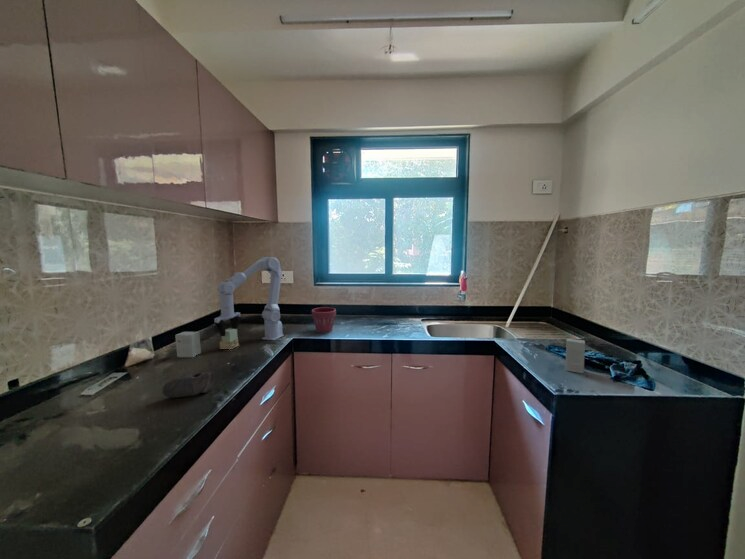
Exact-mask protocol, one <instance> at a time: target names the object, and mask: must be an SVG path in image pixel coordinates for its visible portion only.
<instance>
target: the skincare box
mask: <svg viewBox="0 0 745 559" xmlns="http://www.w3.org/2000/svg"><path fill="white" fill-rule="evenodd" d="M565 343H566V344H565V345H566V346H565V366H564V367H565V368H564V369H565V371H567V372H573V373H577V374H584V371H585V353H586V341H585V340H583V339H575V338H566V342H565Z"/></svg>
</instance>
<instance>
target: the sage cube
mask: <svg viewBox="0 0 745 559" xmlns="http://www.w3.org/2000/svg"><path fill="white" fill-rule="evenodd" d="M220 336H221V335H220ZM220 338H221V341H227V342H231V341H233V340H236V339H238V340H239V338H238V328H237V329H232V327H231V328H230V327H229V328H225V336H221V337H220Z"/></svg>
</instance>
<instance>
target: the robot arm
mask: <svg viewBox="0 0 745 559" xmlns="http://www.w3.org/2000/svg"><path fill="white" fill-rule="evenodd" d="M280 264H281V262H280V261H279V260H278V258H277V257H275V256H271V257H269V256H263V257H261V258H260V259H258V260H257V261H255V262H253V264H251V266H249V267H248V268H247V269H245V270H244V271H243V272H241V271H240V272H239V271H238V272H234V273H233V275H232V276H230V277H229V278H226V279H225V281H222V282H220V283H219V284H218V286H217V291H218V292H219V300H220V301H219V302H220V315H219V316H217V317H215V318H214V319H213V320H214V322H213V323H214V325H215V326H216V328H217V329H218V332H219V334H220V336H225V329H226V327H227V320H229V321H230V325H231V329H237V330H238V327H239V325H240V324H239V323H240V321H241V320H242V317H241V312H239V311H237V312H235V308H234V307H235V306H234V305H235V304H234V292H235V290H236V289H238V288H239V287H240V286H241V285H243V284H244V283H246V282H247V278H249V277H250V276H252V275H253V274H255V273H256V272H258V271H260V270H266V271H267V272H268V273H269V275H270V281H269V288H268V296H267V302H266V305H264V309H263V311H262V313H261V318H263V320H264V336H263V337H261V340H266V341H267V340H268V341H275V340H278V339H280V338H281V337H283V336H285V334H284V333H283V323H282V321H281V320H280V319H281V312H280V307H279V305H278V303H279V297H280V290H281V283H282V276H283V271H282V268H281V265H280Z"/></svg>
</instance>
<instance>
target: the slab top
mask: <svg viewBox="0 0 745 559" xmlns="http://www.w3.org/2000/svg"><path fill="white" fill-rule="evenodd" d="M237 343H239V338H238V339H236V340H233V341H231V342H227V341H222V340H220V341H219V347H220V346H234V345H235V344H237Z"/></svg>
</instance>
